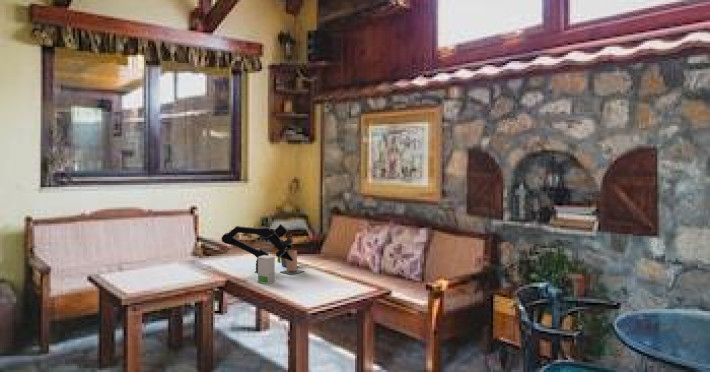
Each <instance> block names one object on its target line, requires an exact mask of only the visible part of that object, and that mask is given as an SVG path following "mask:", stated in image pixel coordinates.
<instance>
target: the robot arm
mask: <svg viewBox="0 0 710 372" xmlns="http://www.w3.org/2000/svg"><path fill="white" fill-rule="evenodd" d="M288 232H289V230H288V229H287V228H286V227H285V226H284V225H282V223H279V224H278V226H277V227H276V228H270V227H269V226H261V227H251V226H249V227H248V226H239V225H236V226H235V227H233V229H231V230H230V231H229V232H226V233H224V234H223V235H222V236H221V241H222V243H224V244H227V245H229V246H230V245H231V246H235V247H237V248H240V249H242V250H244V251H245V252H247V253H249V254H252V255H253V256H254V257H256V261H255V271H254V273H255V274H256V273H257V274H258V257H259V256H263V255H267V256H270V255H269V254H270V253H269V252H268V251H267V249H264V248H263V247H260V248H256V247H253V246H252V245H250V244H248V243H246V242H243V241H241V240H239V239H238V238H236V237H235V236H236V235H238V234H250V235H252V234H253V235H257V236H261V237H264V238H265V243H268V242H269V243H271V244H272V246H274V247H273V248H274V249H276V250H277V252H276V253H275V256H276V257H277V258H278V257H280V255H282V256H281V257H282V258H285V259H288V260H290V261H293V259H292V258H291V256H290V255H289V254H288V251H289V250H293V247H294V245H293V244H292V243H294V241H293V238H292V237H290V236H288V237H286V239H285V240H283V239H281V238H283V237H284V236H285V235H286V234H287V233H288Z"/></svg>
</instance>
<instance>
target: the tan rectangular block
mask: <svg viewBox="0 0 710 372" xmlns="http://www.w3.org/2000/svg"><path fill="white" fill-rule="evenodd" d="M288 254H289V255H290V256H291V258H292V259H293V261H290V260H288V259H286V267H285V268H286V270H287V271H295V270H296V269H297V270H298V250H293V249H292V250H289V251H288Z"/></svg>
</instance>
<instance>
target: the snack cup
mask: <svg viewBox="0 0 710 372" xmlns="http://www.w3.org/2000/svg"><path fill="white" fill-rule="evenodd" d="M281 256H282V255H280V257H277V263H279V264H280V263H281V266H282V267H284V268H287V267H286V259H285V258H282V257H281Z"/></svg>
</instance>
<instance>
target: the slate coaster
mask: <svg viewBox="0 0 710 372" xmlns="http://www.w3.org/2000/svg"><path fill="white" fill-rule="evenodd" d="M301 273H305V270H302V269H298V268H297V269H296V270H295V271H287V269H285V270H282V271H279V274H284V275H290V276H294V275H297V274H301Z"/></svg>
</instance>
